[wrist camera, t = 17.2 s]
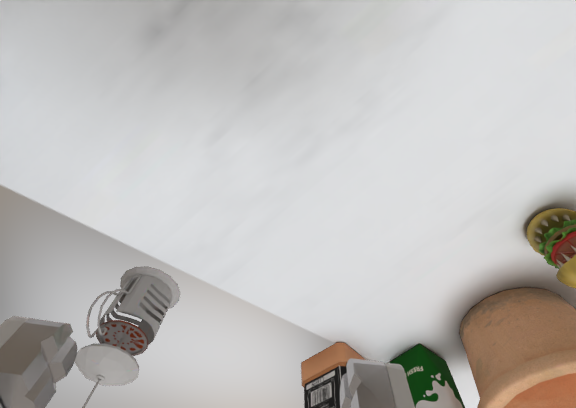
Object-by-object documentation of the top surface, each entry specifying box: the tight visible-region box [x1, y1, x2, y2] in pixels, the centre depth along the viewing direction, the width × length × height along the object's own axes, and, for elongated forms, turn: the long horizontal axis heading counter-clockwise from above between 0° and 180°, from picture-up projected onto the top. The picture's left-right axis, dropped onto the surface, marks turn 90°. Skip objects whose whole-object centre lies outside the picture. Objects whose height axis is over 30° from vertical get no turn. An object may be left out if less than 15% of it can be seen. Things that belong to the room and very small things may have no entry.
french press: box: [75, 267, 180, 408], centre depth 43 cm, size 10×12×25 cm
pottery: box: [459, 287, 576, 408], centre depth 48 cm, size 22×22×14 cm
